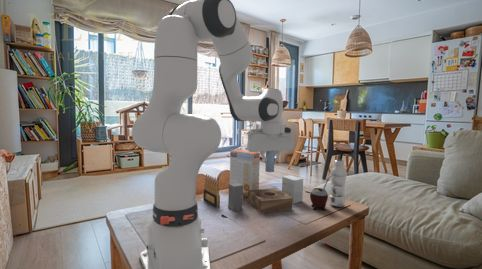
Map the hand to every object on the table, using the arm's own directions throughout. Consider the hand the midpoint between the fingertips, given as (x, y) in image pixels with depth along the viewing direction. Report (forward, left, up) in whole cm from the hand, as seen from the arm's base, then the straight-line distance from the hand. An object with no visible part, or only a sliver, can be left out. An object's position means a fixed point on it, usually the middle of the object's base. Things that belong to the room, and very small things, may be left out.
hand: (270, 161), depth 110 cm
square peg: (+1, +15, -19) cm, 24 cm away
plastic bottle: (-9, -28, -19) cm, 35 cm away
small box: (+3, -13, -19) cm, 24 cm away
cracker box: (+17, +5, -19) cm, 26 cm away
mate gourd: (-9, -19, -19) cm, 29 cm away
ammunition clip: (+9, +23, -19) cm, 31 cm away
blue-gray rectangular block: (0, 0, -4) cm, 4 cm away
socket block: (0, 0, -19) cm, 19 cm away
